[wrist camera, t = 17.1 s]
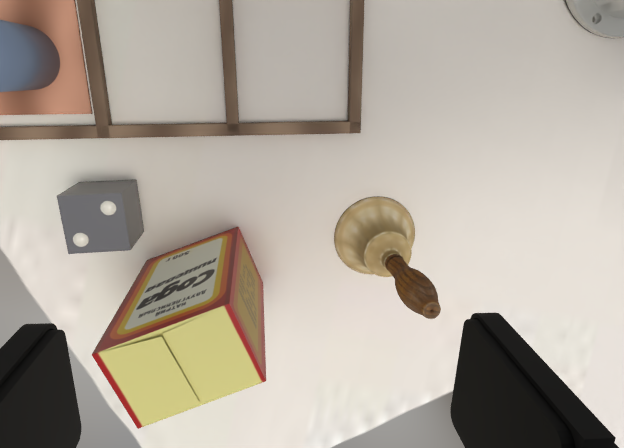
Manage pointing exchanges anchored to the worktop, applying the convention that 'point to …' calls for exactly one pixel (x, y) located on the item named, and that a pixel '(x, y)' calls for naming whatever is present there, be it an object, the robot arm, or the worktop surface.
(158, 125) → the board
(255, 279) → the baking soda box
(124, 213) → the die
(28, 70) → the blue cylinder
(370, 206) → the hand bell
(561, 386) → the robot arm
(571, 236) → the worktop surface
